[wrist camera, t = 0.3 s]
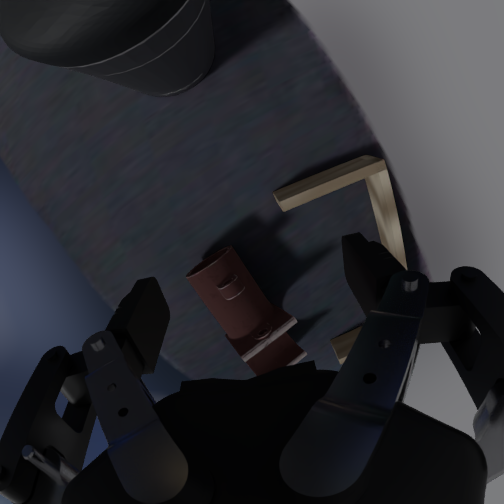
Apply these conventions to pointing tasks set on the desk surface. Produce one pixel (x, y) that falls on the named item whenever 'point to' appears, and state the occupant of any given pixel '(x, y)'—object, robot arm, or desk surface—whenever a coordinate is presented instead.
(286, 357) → the bracket
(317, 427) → the robot arm
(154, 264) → the desk surface
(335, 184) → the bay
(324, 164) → the desk surface
